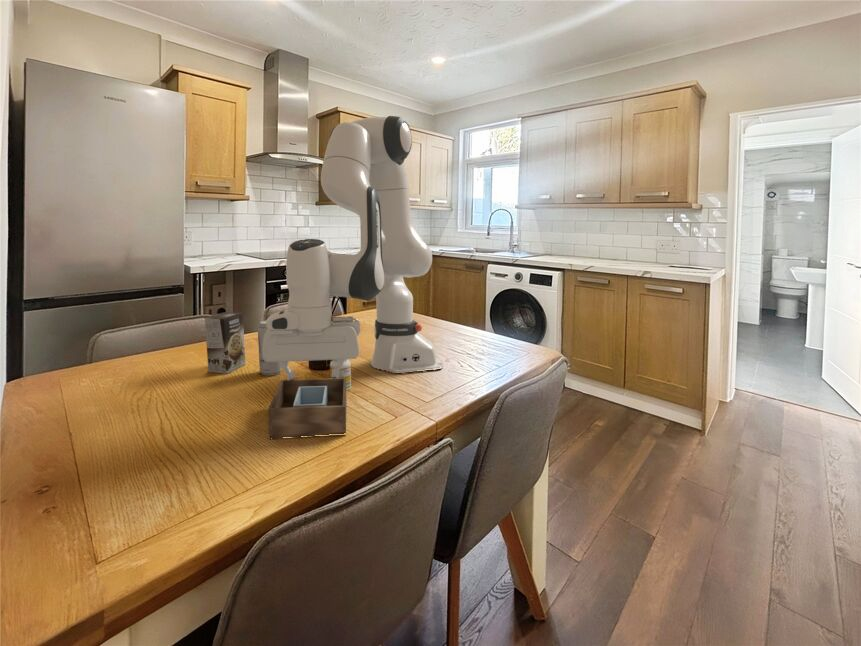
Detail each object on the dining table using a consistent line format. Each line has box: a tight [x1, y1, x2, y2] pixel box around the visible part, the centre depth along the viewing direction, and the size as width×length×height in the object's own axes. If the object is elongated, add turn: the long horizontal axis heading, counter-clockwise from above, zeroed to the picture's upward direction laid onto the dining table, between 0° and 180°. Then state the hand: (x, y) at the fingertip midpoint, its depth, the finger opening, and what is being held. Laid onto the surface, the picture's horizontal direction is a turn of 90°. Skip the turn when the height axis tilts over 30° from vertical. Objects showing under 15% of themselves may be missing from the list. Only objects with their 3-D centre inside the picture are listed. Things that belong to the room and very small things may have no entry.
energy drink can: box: [257, 320, 283, 376], centre depth 128 cm, size 6×6×15 cm
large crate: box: [267, 377, 347, 440], centre depth 100 cm, size 15×17×6 cm
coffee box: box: [204, 311, 246, 375], centre depth 131 cm, size 9×6×16 cm
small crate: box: [293, 386, 328, 407], centre depth 100 cm, size 6×11×5 cm, turn 10°
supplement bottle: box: [329, 359, 352, 391], centre depth 119 cm, size 5×5×10 cm
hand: (313, 378), depth 99 cm, fingers open, 8 cm apart
